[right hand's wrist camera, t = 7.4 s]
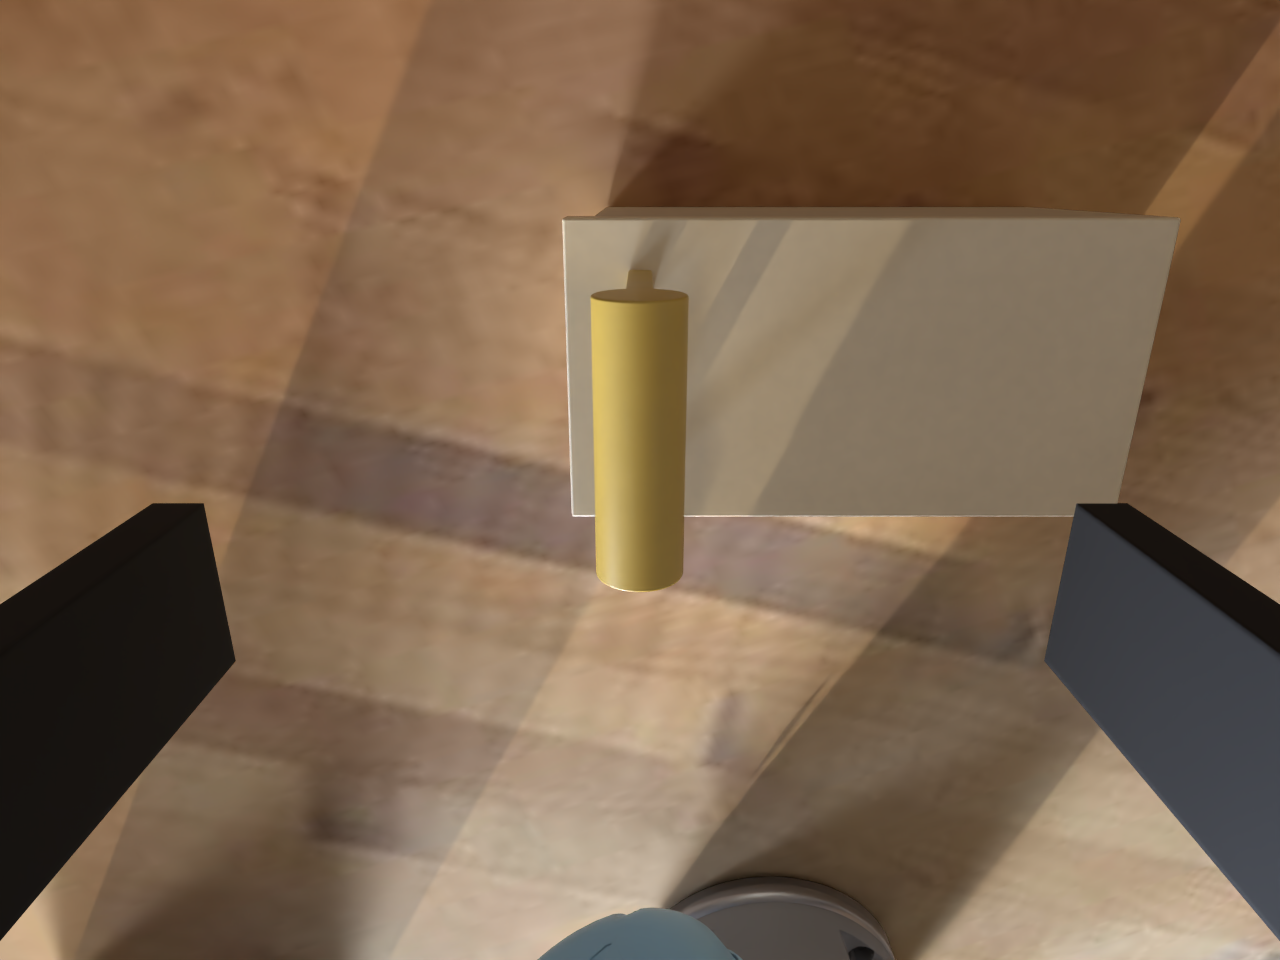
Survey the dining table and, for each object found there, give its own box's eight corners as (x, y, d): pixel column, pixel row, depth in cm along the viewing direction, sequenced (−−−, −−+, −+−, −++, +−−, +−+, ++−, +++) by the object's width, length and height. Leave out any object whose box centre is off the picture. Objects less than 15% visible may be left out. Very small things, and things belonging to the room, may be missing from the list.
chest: (608, 430, 36) (598, 506, 28) (605, 206, 33) (593, 216, 24) (993, 430, 36) (1100, 506, 28) (1029, 207, 33) (1163, 216, 24)
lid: (573, 506, 28) (545, 641, 20) (564, 216, 24) (526, 234, 16) (1100, 507, 28) (1291, 642, 19) (1164, 216, 24) (1423, 234, 16)
